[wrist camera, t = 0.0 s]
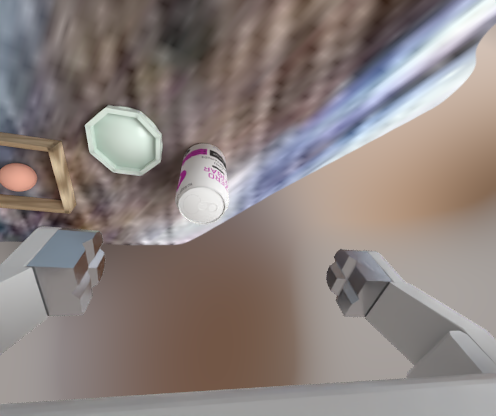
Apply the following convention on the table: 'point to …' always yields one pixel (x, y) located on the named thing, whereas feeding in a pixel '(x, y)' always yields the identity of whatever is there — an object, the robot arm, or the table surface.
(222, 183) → the soda can
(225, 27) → the table surface
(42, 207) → the wooden square frame
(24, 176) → the ball
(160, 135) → the saucer
